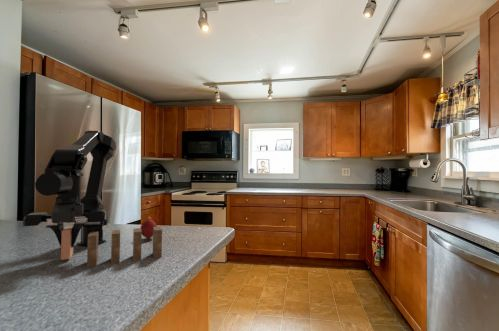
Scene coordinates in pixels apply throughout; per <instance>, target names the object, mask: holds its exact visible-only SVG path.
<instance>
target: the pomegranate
mask: <svg viewBox="0 0 499 331" xmlns="http://www.w3.org/2000/svg"><path fill="white" fill-rule="evenodd" d="M153 227H158V226H157V223H156V222H155V221H154V220H153V219H152V217H151V216H148V217H147V219H146V220H144V221H143V222H142V223H141V225H140V228H141V231H142V236H143V237H144V238H145V239H148V240H150V239H151V238H153Z"/></svg>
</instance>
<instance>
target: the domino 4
mask: <svg viewBox="0 0 499 331" xmlns="http://www.w3.org/2000/svg"><path fill="white" fill-rule="evenodd" d="M162 247H163V229H162V227H161V226H157V227H153V236H152V256H153V258H154V259H157V258H162V257H163V256H162V252H163V251H162V250H163V248H162Z"/></svg>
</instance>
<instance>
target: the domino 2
mask: <svg viewBox="0 0 499 331" xmlns="http://www.w3.org/2000/svg"><path fill="white" fill-rule="evenodd" d="M110 243H111V250H110V251H111V252H110V254H111V255H110V257H111V258H110V264H111V265H114V264H120V260H121V259H120V258H121V256H120V255H121V229H115V230H114V229H113V230H112V231H111V242H110Z"/></svg>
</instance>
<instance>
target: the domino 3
mask: <svg viewBox="0 0 499 331" xmlns="http://www.w3.org/2000/svg"><path fill="white" fill-rule="evenodd" d="M132 230H133V232H132V233H133V234H132V235H133V236H132V237H133V238H132V244H133V245H132V260H133V261H134V262H136V261H142V236H143V235H142V231H141V227H138V228H133V229H132Z"/></svg>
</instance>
